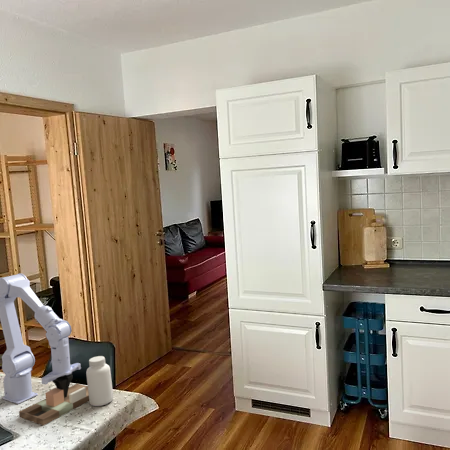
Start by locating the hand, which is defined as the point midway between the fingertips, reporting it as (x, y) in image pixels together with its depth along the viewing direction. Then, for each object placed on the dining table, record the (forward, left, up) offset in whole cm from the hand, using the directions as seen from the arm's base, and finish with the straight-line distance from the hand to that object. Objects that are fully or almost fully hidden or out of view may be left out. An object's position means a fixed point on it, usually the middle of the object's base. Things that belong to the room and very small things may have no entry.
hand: (63, 396), depth 151 cm
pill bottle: (+10, +7, -3) cm, 13 cm away
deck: (0, -1, -3) cm, 3 cm away
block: (0, -4, -1) cm, 4 cm away
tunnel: (0, +2, -1) cm, 2 cm away
